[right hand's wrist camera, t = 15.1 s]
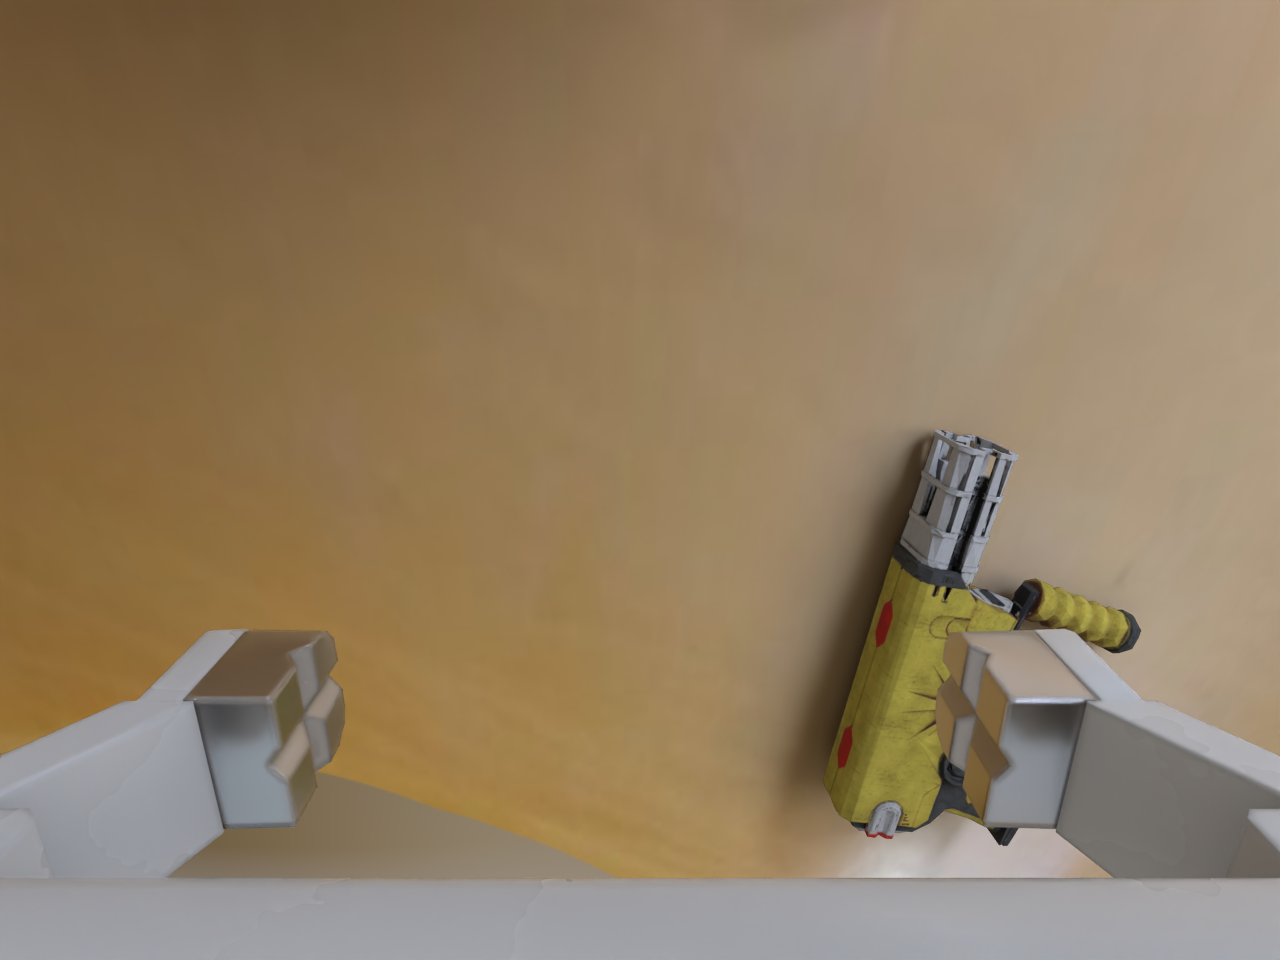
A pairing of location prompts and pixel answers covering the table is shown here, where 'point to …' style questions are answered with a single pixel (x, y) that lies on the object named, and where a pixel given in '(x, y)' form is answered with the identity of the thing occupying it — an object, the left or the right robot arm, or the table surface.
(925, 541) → the toy gun
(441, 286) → the table surface
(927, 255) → the table surface
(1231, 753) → the right robot arm
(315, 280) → the table surface
